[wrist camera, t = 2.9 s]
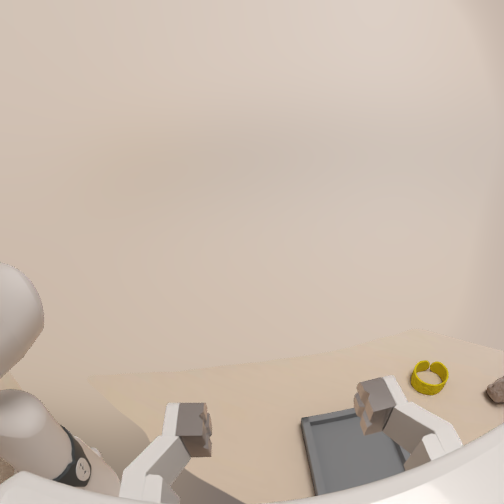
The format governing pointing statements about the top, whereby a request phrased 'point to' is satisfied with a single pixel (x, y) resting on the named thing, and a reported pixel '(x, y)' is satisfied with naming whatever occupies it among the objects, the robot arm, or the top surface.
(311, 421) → the slate tray
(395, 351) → the top surface
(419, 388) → the bracelet
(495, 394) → the pumice stone
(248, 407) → the top surface
